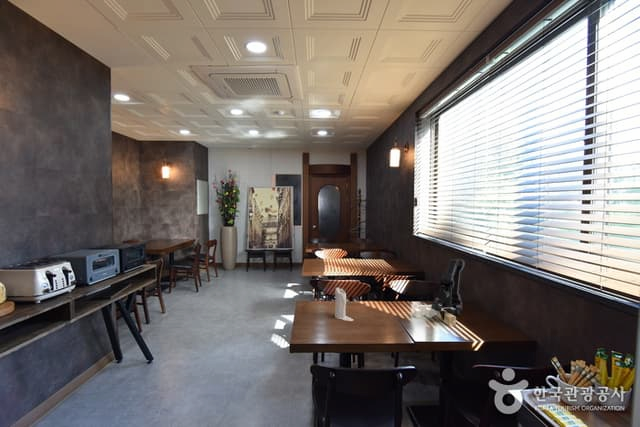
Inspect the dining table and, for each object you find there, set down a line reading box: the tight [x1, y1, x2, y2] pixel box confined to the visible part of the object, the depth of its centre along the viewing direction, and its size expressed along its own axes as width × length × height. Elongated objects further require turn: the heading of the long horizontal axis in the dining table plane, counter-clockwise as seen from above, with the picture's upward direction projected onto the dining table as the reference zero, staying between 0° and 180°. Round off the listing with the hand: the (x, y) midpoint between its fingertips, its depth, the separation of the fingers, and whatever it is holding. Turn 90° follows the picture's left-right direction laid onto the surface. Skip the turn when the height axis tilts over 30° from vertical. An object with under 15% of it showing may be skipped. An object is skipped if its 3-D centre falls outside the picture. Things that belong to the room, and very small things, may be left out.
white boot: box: [334, 287, 354, 322], centre depth 214 cm, size 7×14×20 cm, turn 53°
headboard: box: [413, 302, 442, 319], centre depth 222 cm, size 21×6×9 cm, turn 100°
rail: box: [436, 310, 457, 327], centre depth 212 cm, size 4×16×6 cm, turn 10°
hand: (446, 319), depth 212 cm, fingers closed on rail, 4 cm apart
